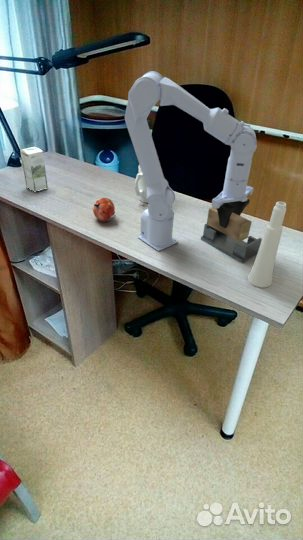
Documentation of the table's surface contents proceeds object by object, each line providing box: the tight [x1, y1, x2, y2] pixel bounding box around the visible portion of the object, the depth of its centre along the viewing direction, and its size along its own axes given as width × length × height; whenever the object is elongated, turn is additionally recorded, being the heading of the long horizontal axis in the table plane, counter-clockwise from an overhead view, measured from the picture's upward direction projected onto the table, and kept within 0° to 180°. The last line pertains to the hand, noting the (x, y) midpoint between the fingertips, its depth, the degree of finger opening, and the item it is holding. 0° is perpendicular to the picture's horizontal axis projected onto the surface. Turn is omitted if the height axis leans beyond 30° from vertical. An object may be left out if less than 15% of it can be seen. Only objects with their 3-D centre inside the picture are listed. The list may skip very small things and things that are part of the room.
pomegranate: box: [92, 197, 116, 223], centre depth 113 cm, size 7×7×10 cm
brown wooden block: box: [206, 206, 252, 242], centre depth 97 cm, size 12×4×5 cm, turn 40°
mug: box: [134, 164, 149, 204], centre depth 123 cm, size 10×7×12 cm, turn 139°
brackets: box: [200, 223, 262, 264], centre depth 103 cm, size 16×8×5 cm, turn 40°
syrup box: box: [19, 146, 49, 192], centre depth 127 cm, size 6×6×14 cm
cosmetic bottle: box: [247, 201, 287, 289], centre depth 85 cm, size 6×6×22 cm
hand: (227, 224), depth 98 cm, fingers closed on brown wooden block, 4 cm apart
